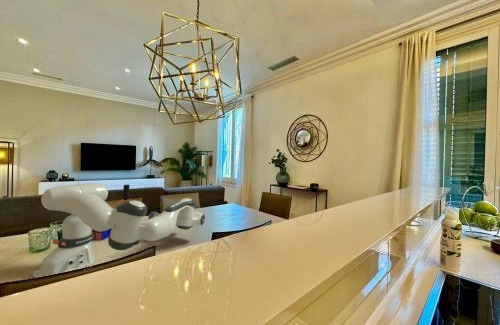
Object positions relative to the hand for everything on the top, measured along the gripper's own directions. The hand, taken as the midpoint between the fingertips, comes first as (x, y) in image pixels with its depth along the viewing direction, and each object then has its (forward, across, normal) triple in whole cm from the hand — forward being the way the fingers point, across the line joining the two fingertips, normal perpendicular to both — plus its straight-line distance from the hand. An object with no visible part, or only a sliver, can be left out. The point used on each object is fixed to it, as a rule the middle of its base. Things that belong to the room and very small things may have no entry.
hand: (166, 213), depth 148 cm
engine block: (+12, 0, -12) cm, 17 cm away
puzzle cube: (+32, -23, -15) cm, 42 cm away
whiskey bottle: (+31, -7, -15) cm, 35 cm away
